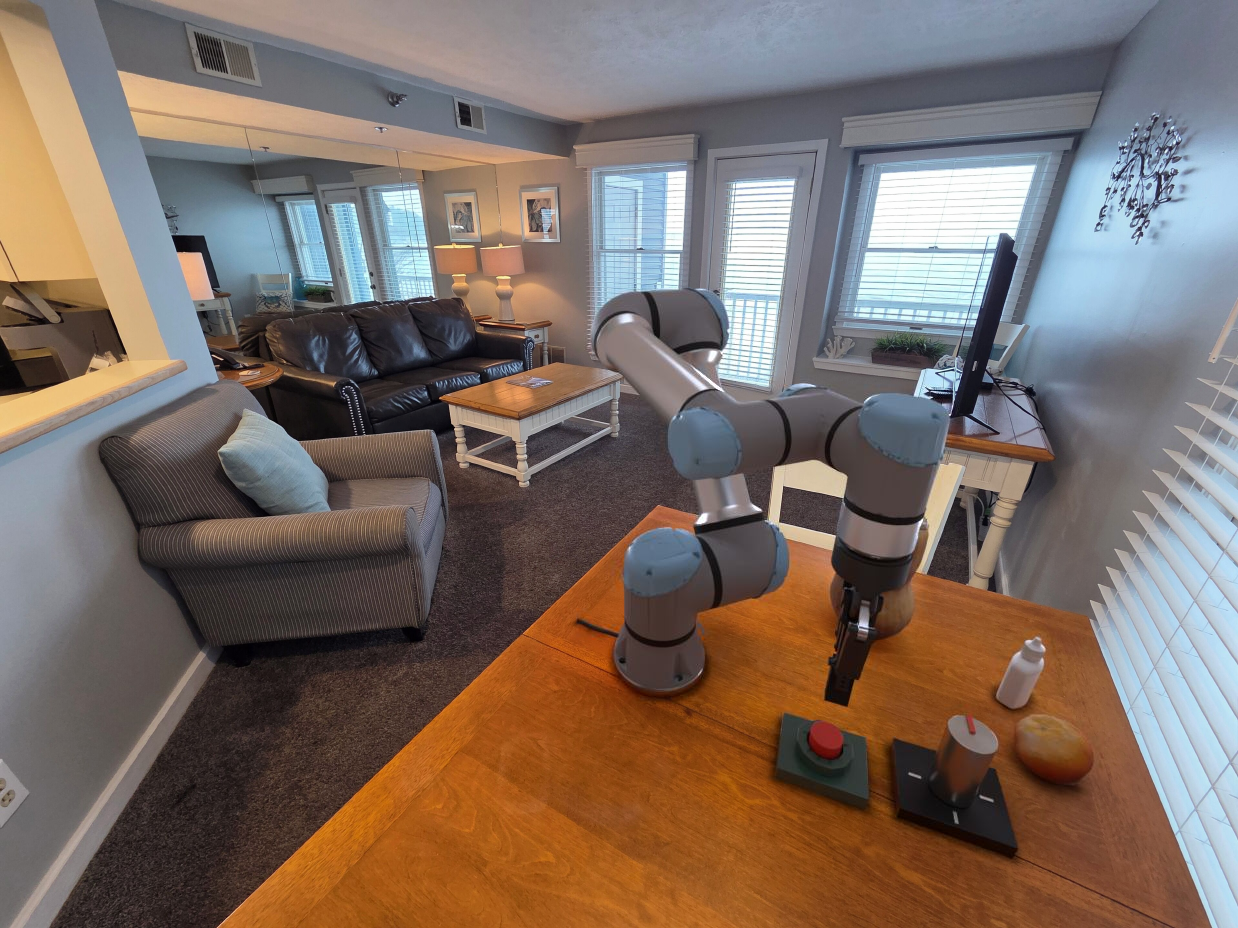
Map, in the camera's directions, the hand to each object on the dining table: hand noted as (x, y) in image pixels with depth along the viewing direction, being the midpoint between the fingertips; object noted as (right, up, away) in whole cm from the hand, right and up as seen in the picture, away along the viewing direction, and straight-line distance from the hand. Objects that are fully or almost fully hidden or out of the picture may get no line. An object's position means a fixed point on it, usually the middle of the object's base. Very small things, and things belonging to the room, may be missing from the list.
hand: (835, 698), depth 63 cm
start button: (0, -8, +4) cm, 9 cm away
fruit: (+30, -11, +5) cm, 33 cm away
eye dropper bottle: (+33, -7, +14) cm, 37 cm away
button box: (0, -11, +5) cm, 12 cm away
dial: (+14, -11, 0) cm, 18 cm away
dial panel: (+14, -13, +1) cm, 19 cm away
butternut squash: (+17, 0, +28) cm, 33 cm away
